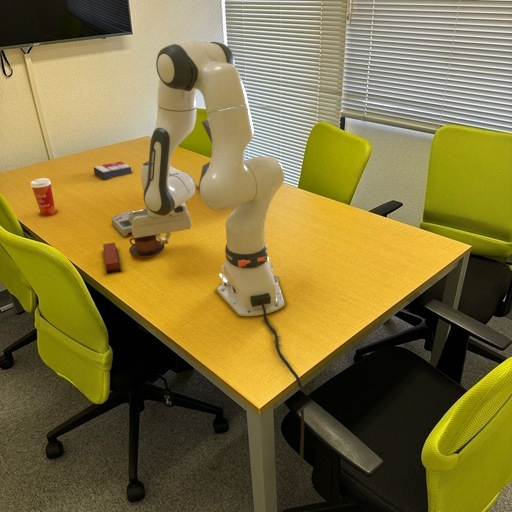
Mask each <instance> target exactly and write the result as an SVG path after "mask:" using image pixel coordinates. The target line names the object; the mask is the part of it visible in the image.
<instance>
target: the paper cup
mask: <svg viewBox="0 0 512 512" xmlns="http://www.w3.org/2000/svg"><path fill="white" fill-rule="evenodd" d="M51 184H52V182H51V181H50V179H49V178H47V177H41V178H36V179H33V180H31V182H30V187H31V189H32V192H33V194H34V198H35V200H36V203H37V206H38V209H39V211H40V214H41V216H45V217H49V216H53V215H54V214H56V211H57V210H56V205H55V200H54V195H53V190H52V185H51Z"/></svg>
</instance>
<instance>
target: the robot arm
mask: <svg viewBox="0 0 512 512" xmlns="http://www.w3.org/2000/svg"><path fill="white" fill-rule="evenodd" d="M155 63H156V64H155V67H156V73H157V76H158V77H159V78H158V84H157V102H156V103H157V112H156V121H155V127H154V129H153V131H152V132H153V133H152V135H151V138H150V143H149V155H148V160H147V161H145V162H144V163H143V164H142V165H141V169H140V179H141V186H142V190H143V202H144V207H145V208H144V209H143V208H142V209H139V210H131V211H132V213H133V214H132V213H130V214H129V216H128V218H129V222H130V223H131V228H132V232H131V234H132V236H133V238H134V237H135V238H139V237H145V236H151V235H156V239H158V241H160V244H161V245H163V244H164V245H169V239H170V237H171V233H174V232H180V231H186V230H191V229H192V227H193V222H192V218H191V215H190V213H189V211H188V208H187V204H186V202H188V201H189V200H191V199H192V198H193V197H195V194H196V192H197V185H196V181H195V180H194V178H193V177H192V176H191V175H190V174H189V173H188V172H186V171H183V170H178V169H177V168H174V167H173V166H171V160H172V156H173V154H174V152H175V150H176V148H178V147H179V146H180V144H181V143H182V142H183V141H184V140H185V139H187V137H188V136H189V135H190V134H191V133H192V132H193V131H194V129H195V125H196V121H197V107H198V106H197V92H198V91H199V92H200V93H201V96H202V97H203V101H204V106H205V111H206V114H207V115H206V116H207V119H208V121H209V126H210V131H211V137H212V143H211V147H212V150H211V157H210V161H211V162H210V161H209V162H210V165H209V168H208V170H207V172H206V174H205V175H204V176H203V178H202V180H201V183H200V189H199V194H200V197H201V199H202V201H203V202H204V204H205V205H206V207H208V208H209V209H211V210H213V211H221V210H229V209H233V210H232V211H231V212H230V214H229V215H228V216H227V219H226V221H225V237H226V238H225V239H226V244H225V248H224V249H225V250H224V253H225V258H226V259H225V261H224V262H223V264H222V265H221V273H219V276H220V278H221V284H220V285H219V286H218V287H217V289H216V290H217V293H218V294H219V296H220V297H221V298H222V299H223V300H224V301H225V302H226V303H227V304H228V306H229V307H230V308H231V309H232V310H234V312H235V313H236V314H237V315H238V316H240V317H257V316H263V320H264V322H265V324H266V325H267V327H268V328H269V329H270V331H272V333H273V335H274V339H275V341H274V343H275V349H276V352H277V354H278V356H279V358H280V359H281V360H282V362H283V363H284V364H285V365H286V367H287V368H288V370H289V371H290V373H291V374H292V375H293V376H294V378H295V380H296V382H297V386H298V388H300V389H302V388H303V384H302V381H301V378H300V377H299V375H298V374H297V373H296V371H295V370H294V369H293V367H292V366H291V364H290V363H289V362H288V361H287V359H286V358H285V357H284V355H283V354H282V352H281V349H280V346H279V337H278V333H277V331H276V329H275V328H274V326H272V325H271V324H270V322H269V320H268V319H267V317H268V316H267V315H268V314H271V313H274V312H277V311H278V310H280V309H282V308H283V307H285V304H286V303H285V300H284V296H283V293H282V291H281V290H282V289H281V288H280V284H279V282H280V276H279V274H274V273H273V271H274V269H275V266H274V264H271V261H270V257H269V255H268V248H267V244H266V220H267V215H268V212H269V209H270V206H271V204H272V201H273V199H274V197H275V196H276V194H277V192H278V191H279V189H280V188H281V187H282V186H283V184H284V180H285V172H284V168H283V165H282V164H281V162H280V161H279V160H278V159H277V158H276V157H274V156H270V155H269V156H268V155H267V156H255V157H251V158H248V159H245V153H246V149H247V147H248V146H249V144H250V143H251V141H252V140H253V138H254V135H255V130H254V124H253V118H252V114H251V109H250V105H249V100H248V96H247V91H246V88H245V85H244V82H243V80H242V77H241V76H242V75H241V74H240V72H239V69H238V68H237V66H235V57H234V54H233V52H232V49H231V48H230V47H229V46H228V45H226V44H224V43H222V42H218V41H209V42H203V41H201V42H200V41H187V42H182V43H179V44H177V43H173V44H169V45H167V46H165V47H163V48H160V50H159V52H158V53H157V55H156V61H155ZM162 234H165V237H161V235H162ZM304 444H305V409H304V408H302V409H300V451H299V452H300V453H299V467H300V468H303V467H304Z"/></svg>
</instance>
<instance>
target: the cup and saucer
mask: <svg viewBox="0 0 512 512" xmlns="http://www.w3.org/2000/svg"><path fill="white" fill-rule="evenodd" d="M157 239H158V238H157V237H156V235H151V236H145V237H139V238H135V237H134V236H133V237H131V238H129V244H130V247H129V248H128V252H129V254H130V255H131V256H133V257H134V258H138V259H150V258H153V257H156V256H158V255H160V254H162V252H164V250H165V244H163V245H161V244H160V240H159V239H158V240H157ZM132 240H133V241H134V242H132Z"/></svg>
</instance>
